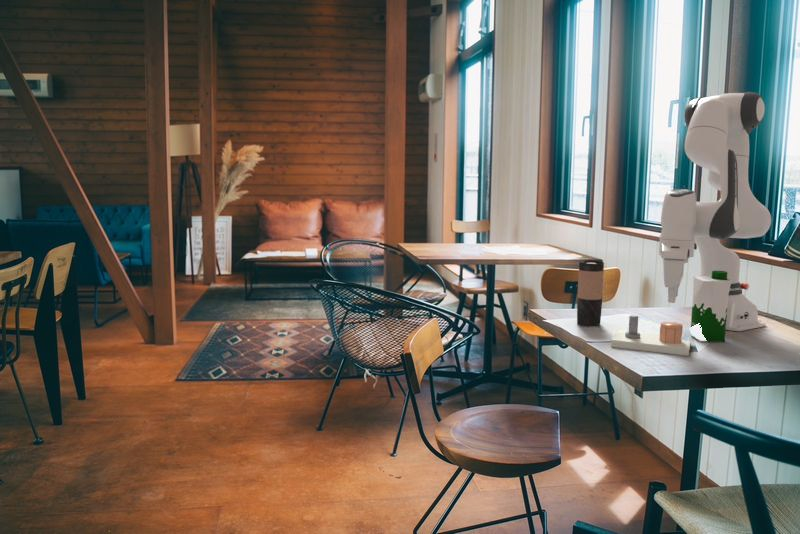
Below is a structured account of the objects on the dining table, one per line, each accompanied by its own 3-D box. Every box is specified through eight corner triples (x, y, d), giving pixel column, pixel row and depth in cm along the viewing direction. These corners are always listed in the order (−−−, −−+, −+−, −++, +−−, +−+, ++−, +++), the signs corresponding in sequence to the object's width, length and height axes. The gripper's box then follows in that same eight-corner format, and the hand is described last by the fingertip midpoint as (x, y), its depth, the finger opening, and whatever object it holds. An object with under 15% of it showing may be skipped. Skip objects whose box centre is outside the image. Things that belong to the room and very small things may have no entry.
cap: (671, 337, 192) (672, 321, 191) (685, 342, 186) (687, 325, 186) (655, 339, 190) (656, 322, 189) (669, 344, 185) (670, 327, 184)
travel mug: (602, 327, 212) (605, 264, 209) (576, 326, 213) (579, 263, 210) (599, 321, 219) (603, 260, 216) (575, 320, 221) (578, 260, 218)
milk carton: (729, 343, 194) (735, 274, 191) (697, 342, 194) (702, 273, 191) (716, 335, 203) (721, 269, 200) (685, 335, 203) (690, 269, 200)
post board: (690, 345, 192) (692, 317, 190) (688, 355, 181) (690, 326, 180) (616, 337, 200) (618, 310, 199) (610, 346, 189) (612, 318, 188)
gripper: (666, 245, 195) (663, 292, 197) (660, 252, 177) (657, 304, 178) (690, 246, 192) (687, 294, 194) (687, 254, 174) (683, 306, 176)
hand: (672, 299), depth 186 cm, fingers open, 8 cm apart
